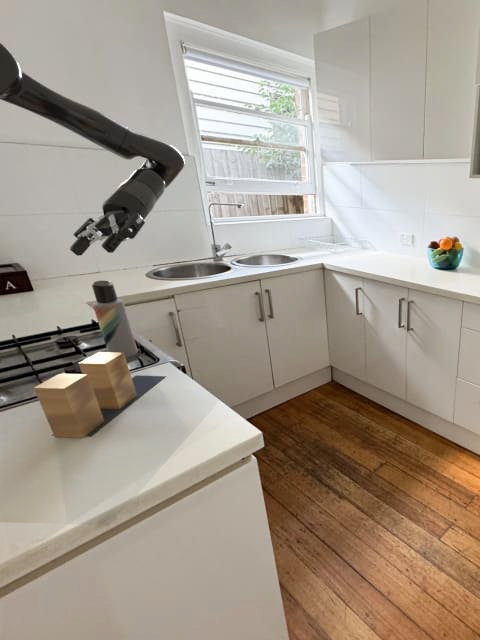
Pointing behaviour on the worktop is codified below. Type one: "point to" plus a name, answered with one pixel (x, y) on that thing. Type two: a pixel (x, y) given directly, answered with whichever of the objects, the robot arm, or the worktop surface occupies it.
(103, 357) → the oak block
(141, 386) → the mat
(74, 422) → the oak block
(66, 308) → the worktop surface
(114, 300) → the lotion bottle
